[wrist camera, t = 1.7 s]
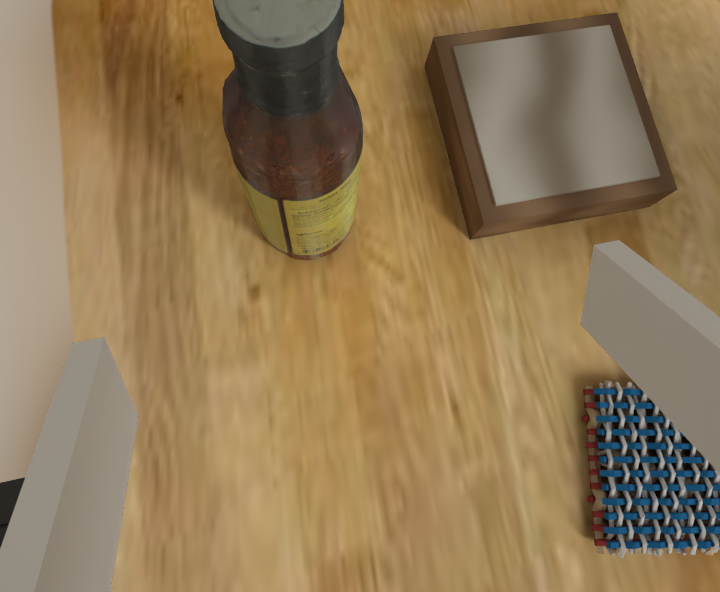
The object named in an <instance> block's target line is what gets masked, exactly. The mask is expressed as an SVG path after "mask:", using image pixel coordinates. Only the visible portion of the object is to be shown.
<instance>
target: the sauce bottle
mask: <svg viewBox="0 0 720 592" xmlns="http://www.w3.org/2000/svg"><path fill="white" fill-rule="evenodd" d="M213 6H214V10H215V16H216V20H217V25H218V27H219V30H220V33H221V36H222V38H223V40H224V41H225V43H226V45H227V46H228V48H229V49H230V50H231V51H232V53H233V58H234V62H235V69H234V70H233V71H232V73H231V74H230V75H229V77H228V78H227V79H225V83H224V87H223V111H222V116H223V125H224V130H225V133H226V137H227V139H228V142H229V146H230V148H231V154H232V158H233V161H234V164H235V166H236V169H237V172H238V174H239V177H240V180H241V183H242V185H243V188H244V190H245V193H246V196H247V198H248V201H249V203H250V206H251V209H252V211H253V214H254V217H255V219H256V222H257V224H258V227H259V229H260V231H261V232H262V234H263V235H264V237H265V239H266V240H267V241H269V242H270V243H271V244H272V245H273V246H274V247H275V248H276V249H278V250H279V251H281V252H282V253H284V254H286V255H288V256H289V257H292V258H294V259H302V260H310V259H316V258H318V257H322V256H325V255H327V254H330V253H332V252H333V251H335V250H336V249H337V248H338V247H339V246H340V245H341V243H342V242H343V241H344V239H345V238H346V236H347V235H348V233H349V231H350V229H351V227H352V224H353V222H354V218H355V213H356V204H357V196H358V184H359V176H360V167H361V157H362V148H363V124H362V117H361V112H360V109H359V106H358V103H357V100H356V98H355V96H354V94H353V92H352V90H351V88H350V86H349V84H348V82H347V80H346V77H345V75H344V73H343V71H342V69H341V67H340V65H339V61H338V58H337V42H338V40H339V38H340V35H341V32H342V27H343V25H344V3H343V0H213Z"/></svg>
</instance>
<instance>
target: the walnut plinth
mask: <svg viewBox="0 0 720 592" xmlns="http://www.w3.org/2000/svg"><path fill="white" fill-rule="evenodd" d="M425 69H426V72H427V76H428V80H429V84H430V88H431V91H432V95H433V99H434V103H435V107H436V111H437V114H438V118H439V122H440V126H441V130H442V134H443V137H444V141H445V145H446V149H447V153H448V156H449V160H450V164H451V168H452V172H453V176H454V179H455V183H456V187H457V191H458V195H459V199H460V202H461V206H462V210H463V214H464V218H465V221H466V225H467V229H468V233H469V237H470V240H471V239H476V238H482V237H487V236H492V235H498V234H503V233H509V232H514V231H520V230H525V229H530V228H536V227H541V226H547V225H552V224H558V223H563V222H568V221H574V220H579V219H585V218H590V217H596V216H601V215H606V214H612V213H617V212H623V211H628V210H634V209H639V208H644V207H650V206H651V205H653V204H654V203H656V202H658V201H659V200H661V199H663V198H664V197H666V196H667V195H669V194H671V193H672V192H674V191H675V190H677V187H676V184H675V181H674V178H673V175H672V172H671V170H670V167H669V164H668V161H667V158H666V155H665V152H664V149H663V146H662V143H661V140H660V137H659V134H658V131H657V128H656V126H655V123H654V120H653V117H652V114H651V111H650V108H649V105H648V102H647V99H646V96H645V93H644V90H643V87H642V84H641V82H640V79H639V76H638V73H637V70H636V67H635V64H634V61H633V58H632V55H631V52H630V49H629V46H628V43H627V41H626V38H625V35H624V32H623V29H622V26H621V23H620V20H619V17H618V14H617V13H610V14H603V15H596V16H588V17H581V18H573V19H566V20H559V21H551V22H544V23H536V24H529V25H521V26H514V27H507V28H499V29H492V30H484V31H477V32H470V33H462V34H455V35H447V36H440V37H434V38H433V41H432V45H431V48H430V51H429V54H428V57H427V60H426V63H425Z"/></svg>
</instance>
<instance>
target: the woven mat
mask: <svg viewBox="0 0 720 592" xmlns="http://www.w3.org/2000/svg"><path fill="white" fill-rule="evenodd" d="M614 384H615V385H614ZM615 386H616V389H614V388H615ZM635 387H636V388H635ZM583 390H584V395H585V402H584V407H585V408H586V411H587V413H588V415H589V416H587V415H584V416H582V421H587V422H588V421H589V422H588V425H587V429H586V430H587V435H588V442H586V448H589V455H588V461H590V469H589V473H590V475H591V483H590V488H591V490H592V492H593V494H594V496H588V502H595V503H594V505H593V511H592V514H593V517H594V524H592V530H593V531H595V539H594V542H595V545H596V547H597V552H598V553H600V554H604V546H606V548H607V550H608V551H609V553H610V554H611V555H614V554H615V553H614V551H613V550H612V549H613V548H616V554H618V555H619V557H620V558H624V556H625V554H626V553H627V551H628V549H629V552H630V553H634V554H640V553H641V552H642V553H643V554H645V553H646V549H647V554H648V555H652V552H653V553H654V554H655V556H662V553H664V552H663V550H662V548H666V547H667V551H666V552H667V553H669V554H670V553H672V549H675V550H676V553H680V550H681V552H682V554H683V555H686V551H685V549H684V548H691V552H690V554H691V555H695V553H696V549H697V548H700V550H701V552H702V553H703V552H704V554H707V555H713V554H714V553H715V552H716V553H717V552H718V549H719V550H720V474H719V473H718V472H717V470H716V469H715V468H714V467H713V466H712V465H711V464H710V463H709V462H708V461H707V460H706V459H705V458H704V457H703V455H702V454H701V453H700V452H699V451H698V450H697V449H696V448H695V447H694V446H693V445H692V444H691V443H683V439H682V436H684V435H683V434H682V433H681V432H680V431H679V430H678V429H677V427H676V426H675V425H674V424H673V423H672V422H671V421H670V420H669V419H668V418H667V417H666V416H665V415H664V414H663V412H662V411H661V410H660V409H659V408H658V407H657V406H656V405H655V404H654V403H653V402H652V403H649V400H650V398H649V397H648V396H647V395H646V394H645V393H644V392H643V391H642V390H641V389H640V388H639V387H638V386H637V384H635V385H632V383H630V382H628V383H627V387H621V386H620V384H619V382H615V383H613V382H612V381H611V380H605V381H604V384H603V383H599V389H594V387H593V386H585V389H583ZM595 395H600V402H596V401H595ZM612 395H617V398H616V402H613V400H612ZM631 396H633V399H634V401H633V399H632V397H631ZM598 408H601V412H600V410H599V409H598ZM613 408H616V410H617V412H618V414H619V416H614V413H613ZM634 409H636V410H637V416H633V413H634ZM646 409H653V415H652V416H647V413H646ZM663 415H664V416H663ZM614 422H619V426H618V429H615V426H614ZM633 422H638V429H636V428H635V425H634V423H633ZM647 422H653V424H654V427H655V429H648V424H647ZM601 423H603V425H604V427H605V429H600V426H601ZM669 423H670V425H671V427H672V430H668V427H669ZM623 428H624V429H623ZM598 435H605V442H598ZM615 435H618V436H619V438H620V441H621V442H616V440H615ZM623 435H624V436H623ZM637 435H639V442H635V441H636V438H637ZM649 436H656V439H655V442H651V443H649ZM669 436H672V437H673V442H671V440H670V438H669ZM599 449H603V450H600V451H599ZM619 449H622V450H621V452H620V450H619ZM636 449H640V454H641V456H639V455H638V453H637V451H636ZM650 449H655V450H656V452H657V456H650ZM672 449H673V450H674V455H673V456H671V454H672ZM684 449H690V451H691V452H690V456H684ZM606 453H607V455H603V454H606ZM605 462H608V464H606V463H605ZM639 462H640V463H641V464H642V467H643V469H641V468H639V469H638V466H639ZM654 463H658V469H656V467H655V464H654ZM671 463H675V466H676V470H675V469H674V468H673V466H672V464H671ZM685 463H690V465H691V467H692V469H693V470H686V467H685ZM600 464H601V465H603V466H605V467H607V469H600ZM708 464H709V470H707V467H708ZM621 466H622V468H623V469H620V468H621ZM601 476H606V477H608V480H609V483H601ZM620 476H624V479H623V483H619V477H620ZM643 476H644V477H643ZM669 476H670V478H669ZM675 476H676V478H677V481H678V482H674V479H675ZM692 476H693V477H694V479H693V482H692V481H691V479H690V477H692ZM639 477H643V480H642V481H643V482H642V483H641V482H640V479H639ZM708 477H710V480H709V478H708ZM657 478H659V480H660V483H656V480H657ZM704 481H705V483H704ZM710 481H711V482H710ZM605 490H609V491H610V493H609V496H607V495H606V493H605ZM657 490H661V495H660V497H656V495H655V492H654V491H657ZM678 490H679V492H678V497H676V495H675V493H674V491H678ZM705 490H707V492H706V495H705ZM620 491H623V493H624V495H625V497H620ZM641 492H642V497H640V496H641ZM693 493H694V495H695V497H692V495H693ZM711 493H712V494H713V496H711ZM625 504H626V507H625V510H621V505H625ZM695 504H697V507H696V511H692V510H691V507H690V505H695ZM658 505H661V507H662V509H663V511H657V508H658ZM711 505H714V506H713V508H712V506H711ZM607 506H608V511H606V509H607ZM642 506H643V508H644V509H642ZM677 508H678V511H677ZM707 509H708V511H707ZM713 509H714V510H713ZM709 518H710V521H709ZM604 519H607V520H609V524H604ZM623 519H625V520H626V524H622V522H623ZM658 519H664V523H663V524H658V521H657V520H658ZM694 519H696V520H697V522H698V524H693V523H694ZM677 520H679V523H678V521H677ZM604 533H608V535H607V537H606V538H605V539H604ZM626 533H628V535H626ZM660 533H662V534H664V536H665V539H659V538H660ZM693 533H700V535H699V537H697V538H695V537H694V534H693ZM613 536H615V537H613ZM644 536H645V537H644ZM612 537H613V538H612ZM645 538H646V539H645ZM641 547H642V549H641Z"/></svg>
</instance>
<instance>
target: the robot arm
mask: <svg viewBox="0 0 720 592" xmlns="http://www.w3.org/2000/svg"><path fill="white" fill-rule="evenodd" d="M581 325H582V326H583V328H584V329H585V330H586V331H587V332H588V333H589V334H590V335H591V336H592V337H593V338H594V339H595V340H596V341H597V343H598V344H599V345H600V346H601V347H602V348H603V349H604V350H605V351H606V352H607V353H608V354H609V355H610V357H611V358H612V359H613V360H614V361H615V362H616V363H617V364H618V365H619V366H620V367H621V368H622V369H623V371H624V372H625V373H626V374H627V375H628V376H629V377H630V378H631V379H632V380H633V381H634V382H635V383H636V384H637V386H638V387H639V388H640V389H641V390H642V391H643V392H644V393H645V394H646V395H647V396H648V397H649V398H650V400H651V401H652V402H653V403H654V404H655V405H656V406H657V407H658V408H659V409H660V410H661V411H662V412H663V414H664V415H665V416H666V417H667V418H668V419H669V420H670V421H671V422H672V423H673V424H674V425H675V426H676V427H677V429H678V430H679V431H680V432H681V433H682V434H683V435H684V436H685V437H686V438H687V439H688V440H689V441H690V443H691V444H692V445H693V446H694V447H695V448H696V449H697V450H698V451H699V452H700V453H701V454H702V455H703V457H704V458H705V459H706V460H707V461H708V462H709V463H710V464H711V465H712V466H713V467H714V468H715V469H716V470H717V472H718V473H719V474H720V317H719V316H718V315H717V314H715V313H714V312H713V311H712V310H710V309H709V308H708V307H706V306H705V305H704V304H702V303H701V302H700V301H698V300H697V299H696V298H695V297H693V296H692V295H691V294H689V293H688V292H687V291H685V290H684V289H683V288H681V287H680V286H679V285H677V284H676V283H675V282H674V281H672V280H671V279H670V278H668V277H667V276H666V275H664V274H663V273H662V272H660V271H659V270H658V269H656V268H655V267H654V266H653V265H651V264H650V263H649V262H647V261H646V260H645V259H643V258H642V257H641V256H639V255H638V254H637V253H635V252H634V251H633V250H632V249H630V248H629V247H628V246H626V245H625V244H624V243H622V242H621V241H620V240H617V241H611V242H606V243H601V244H595V245H594V247H593V253H592V259H591V265H590V271H589V277H588V283H587V289H586V295H585V301H584V307H583V313H582V319H581ZM137 423H138V414H137V412H136V409H135V407H134V405H133V402H132V400H131V398H130V395H129V393H128V391H127V388H126V386H125V384H124V381H123V379H122V377H121V374H120V372H119V370H118V367H117V365H116V363H115V360H114V358H113V356H112V353H111V351H110V349H109V346H108V344H107V342H106V339H105V337H104V338H99V339H93V340H88V341H83V342H78V343H72V346H71V349H70V352H69V355H68V357H67V360H66V363H65V366H64V369H63V372H62V374H61V377H60V380H59V383H58V386H57V389H56V392H55V394H54V397H53V400H52V403H51V406H50V409H49V411H48V414H47V417H46V420H45V423H44V426H43V429H42V431H41V434H40V437H39V440H38V443H37V446H36V449H35V451H34V455H33V457H32V460H31V463H30V466H29V469H28V471H27V474H26V477H25V478H21V479H16V480H12V481H7V482H2V483H0V592H110V590H111V584H112V577H113V571H114V565H115V559H116V553H117V546H118V540H119V534H120V528H121V522H122V515H123V509H124V503H125V497H126V491H127V485H128V478H129V472H130V466H131V460H132V454H133V447H134V441H135V435H136V429H137Z"/></svg>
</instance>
